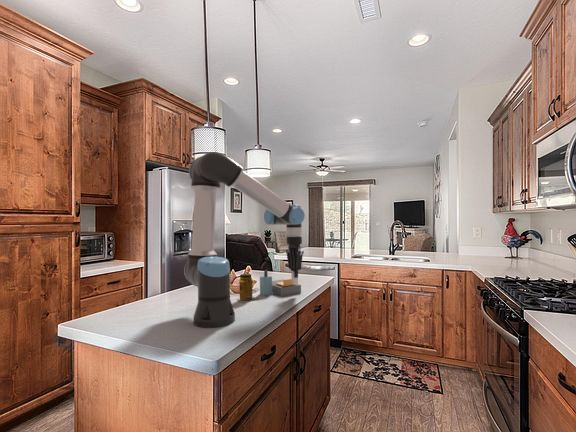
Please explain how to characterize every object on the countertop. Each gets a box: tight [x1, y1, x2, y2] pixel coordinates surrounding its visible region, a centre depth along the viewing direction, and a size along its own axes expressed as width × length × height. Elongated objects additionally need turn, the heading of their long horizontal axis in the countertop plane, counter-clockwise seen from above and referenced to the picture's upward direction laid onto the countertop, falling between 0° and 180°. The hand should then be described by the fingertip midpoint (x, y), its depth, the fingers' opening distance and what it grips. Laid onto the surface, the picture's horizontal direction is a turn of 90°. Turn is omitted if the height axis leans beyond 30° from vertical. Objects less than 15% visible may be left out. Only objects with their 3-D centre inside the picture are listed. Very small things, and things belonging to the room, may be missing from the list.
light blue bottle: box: [259, 269, 273, 296], centre depth 158 cm, size 4×4×12 cm
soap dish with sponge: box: [272, 279, 302, 297], centre depth 164 cm, size 18×12×4 cm, turn 32°
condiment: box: [236, 273, 259, 303], centre depth 148 cm, size 7×8×12 cm
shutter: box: [275, 277, 296, 286], centre depth 161 cm, size 8×8×3 cm
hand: (294, 283), depth 154 cm, fingers closed
